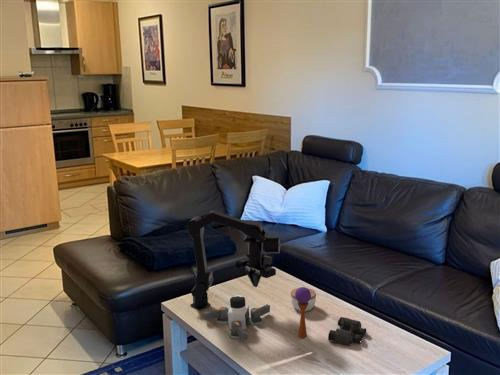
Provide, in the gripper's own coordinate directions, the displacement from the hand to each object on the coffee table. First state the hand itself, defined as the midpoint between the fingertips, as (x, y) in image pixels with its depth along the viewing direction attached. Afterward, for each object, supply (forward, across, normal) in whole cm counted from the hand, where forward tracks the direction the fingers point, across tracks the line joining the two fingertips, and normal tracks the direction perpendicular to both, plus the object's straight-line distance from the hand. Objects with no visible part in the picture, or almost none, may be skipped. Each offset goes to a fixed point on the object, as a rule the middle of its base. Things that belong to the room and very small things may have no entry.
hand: (255, 286), depth 208 cm
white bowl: (+11, -14, -15) cm, 23 cm away
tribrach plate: (+11, -4, +14) cm, 18 cm away
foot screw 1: (+11, +3, +15) cm, 19 cm away
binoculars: (+12, -41, -10) cm, 43 cm away
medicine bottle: (+11, -4, +14) cm, 18 cm away
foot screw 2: (+11, -7, +7) cm, 15 cm away
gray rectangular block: (+11, -9, +20) cm, 24 cm away
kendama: (+11, -28, +3) cm, 30 cm away
